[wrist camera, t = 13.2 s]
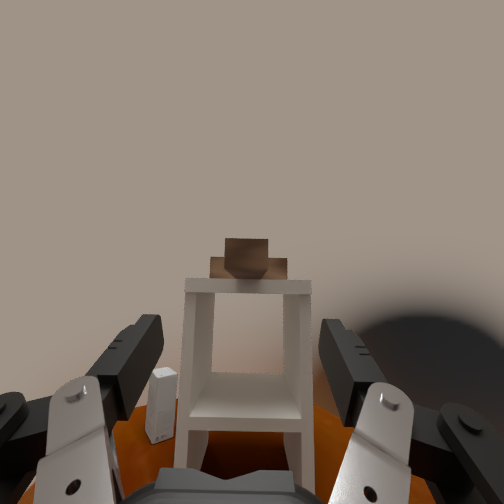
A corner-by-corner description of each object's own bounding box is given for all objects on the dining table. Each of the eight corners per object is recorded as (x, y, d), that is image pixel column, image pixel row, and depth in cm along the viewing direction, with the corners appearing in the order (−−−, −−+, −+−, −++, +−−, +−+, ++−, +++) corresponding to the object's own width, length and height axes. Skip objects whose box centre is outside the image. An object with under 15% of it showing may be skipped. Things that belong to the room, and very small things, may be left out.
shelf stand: (291, 442, 46) (290, 284, 51) (317, 538, 28) (311, 280, 33) (200, 440, 46) (208, 282, 51) (168, 535, 28) (185, 277, 33)
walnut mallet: (279, 283, 46) (279, 265, 46) (321, 270, 18) (319, 228, 19) (218, 281, 46) (219, 264, 46) (170, 267, 18) (174, 225, 19)
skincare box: (174, 437, 47) (178, 373, 49) (151, 445, 44) (157, 377, 46) (164, 423, 51) (169, 366, 53) (144, 430, 49) (149, 369, 51)
